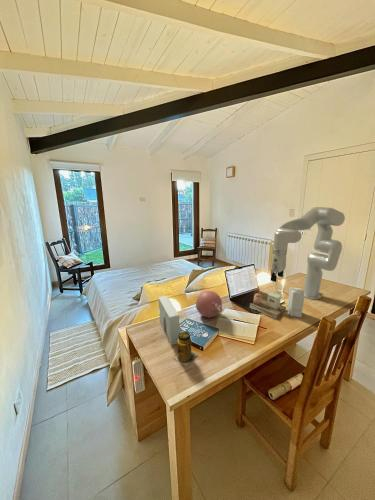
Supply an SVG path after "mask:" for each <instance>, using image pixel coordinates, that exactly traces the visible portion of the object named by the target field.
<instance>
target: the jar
mask: <svg viewBox="0 0 375 500" xmlns="http://www.w3.org/2000/svg"><path fill="white" fill-rule="evenodd" d="M262 298H263V297H262V294H261V293H258V292H257V293H254V296H253V302H252V303H253V304H254V305H256V306H260V305H261V299H262Z"/></svg>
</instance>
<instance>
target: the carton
mask: <svg viewBox="0 0 375 500" xmlns="http://www.w3.org/2000/svg"><path fill="white" fill-rule="evenodd" d="M281 299H282V295H279V294H276V293H274V292H268V294H267V297H266V300H267V304H266V306H267V307H270V308H273V309H275V310H277V309H278V308H279V307H280V305H281Z"/></svg>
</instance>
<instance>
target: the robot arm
mask: <svg viewBox="0 0 375 500" xmlns="http://www.w3.org/2000/svg"><path fill="white" fill-rule="evenodd" d="M345 219H346V217H345V214H344V213H343V212H341V211H340V210H337V209H336V208H334V207H333V208H332V207H324V206H315V207H312V208H311V209H309V210H308V211H307V212H305V214H303V215H302V216H300V217H298V218H296V219H293V220H290V221H287V222H285V223H283V224H282V225H281V226H279V227H278V228H277V230H276V231H275V232H274V237H273V249H272V255H273V256H272V261H271V269H270V282H274V283H277V279H278V277H280V278H283V277H284V273H285V272H284V271H285V270H286V267H287V255H288V254H287V253H288V247H289V245H288V244H295V243H299V241H301V239H302V233H301V232H300V231H305V230H307V231H308V230H310V229H311V228H312V227H314V225H317V233H316V236H315V240H314V243H313V249H314V250H315V251H317V252H311V253H310V254H308V255H307V258H306V262H307V265H306V266H307V268H306V275H305V281H304V285H303V290H302V291H303V292H304V294H305V295H304V298H307V299H310V300H319V299H322V298H321V297H322V296H321V294H320V290H321V285H322V284H321V283H322V279H323V270H325V271H328V272H329V271H330V272H332V271H334V270H335V269H336V268H337V266H338V263H339V259H340V257H341V256H340V255H341V253H342V250H343V244H342V242H341V241H340V240H337V239H332V236H333V234H334V231H333V227H334V226H335V227H339V226H342V225H343V224H344V223H345ZM332 226H333V227H332ZM320 252H321V253H320ZM322 253H325V254H322ZM326 254H328V255H326Z"/></svg>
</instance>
